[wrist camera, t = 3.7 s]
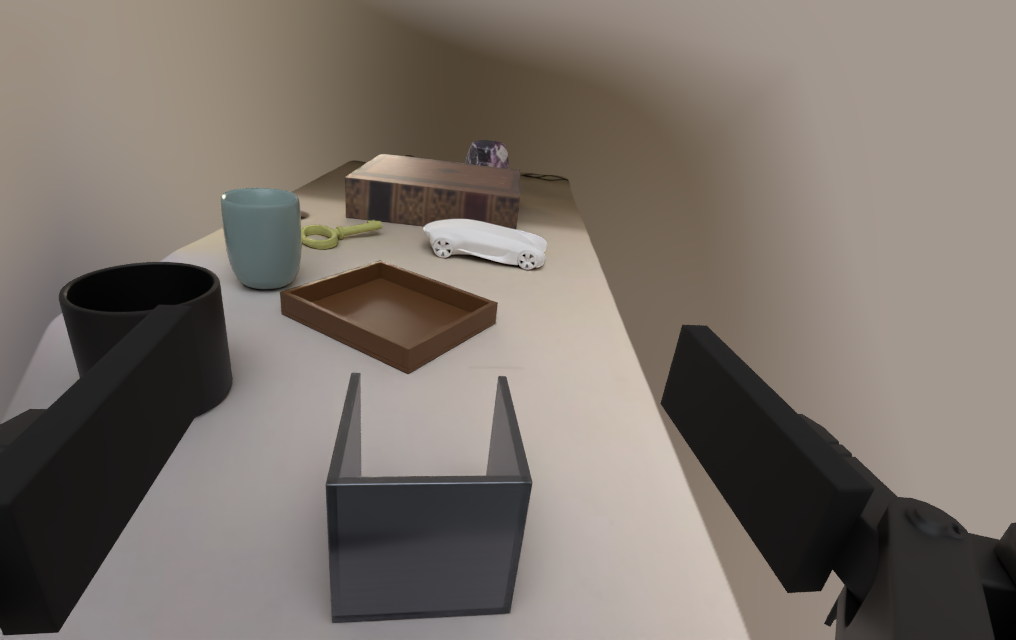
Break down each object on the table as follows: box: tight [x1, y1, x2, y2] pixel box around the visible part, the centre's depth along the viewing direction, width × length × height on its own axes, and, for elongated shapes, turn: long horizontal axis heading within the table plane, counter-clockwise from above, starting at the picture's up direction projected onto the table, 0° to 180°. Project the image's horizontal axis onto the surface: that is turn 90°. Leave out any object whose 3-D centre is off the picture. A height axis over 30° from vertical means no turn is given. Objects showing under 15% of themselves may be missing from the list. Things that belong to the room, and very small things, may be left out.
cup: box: [221, 188, 302, 289], centre depth 60 cm, size 8×8×10 cm
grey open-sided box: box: [326, 373, 532, 623], centre depth 29 cm, size 9×9×9 cm
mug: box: [59, 262, 232, 416], centre depth 39 cm, size 9×12×9 cm
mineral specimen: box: [466, 140, 509, 168], centre depth 124 cm, size 10×10×10 cm
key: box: [301, 220, 382, 249], centre depth 79 cm, size 7×12×2 cm, turn 146°
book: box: [345, 154, 520, 229], centre depth 98 cm, size 24×28×7 cm
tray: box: [280, 260, 498, 374], centre depth 57 cm, size 17×14×2 cm
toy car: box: [423, 219, 547, 270], centre depth 78 cm, size 18×8×4 cm, turn 84°
